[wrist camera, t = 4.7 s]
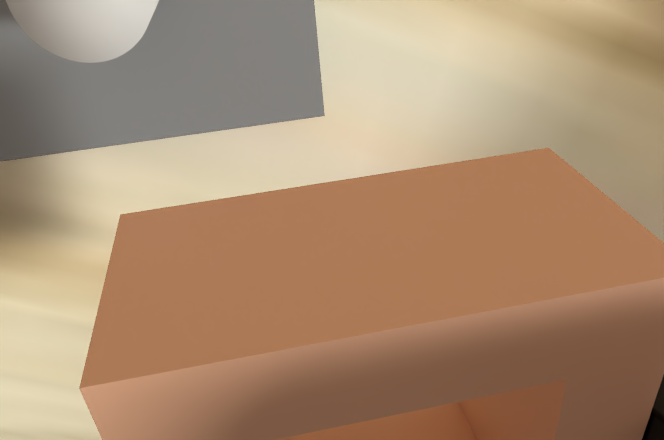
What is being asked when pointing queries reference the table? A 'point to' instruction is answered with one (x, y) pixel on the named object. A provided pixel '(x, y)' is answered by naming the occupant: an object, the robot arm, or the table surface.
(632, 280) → the ring
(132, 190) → the table surface
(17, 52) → the post plate
